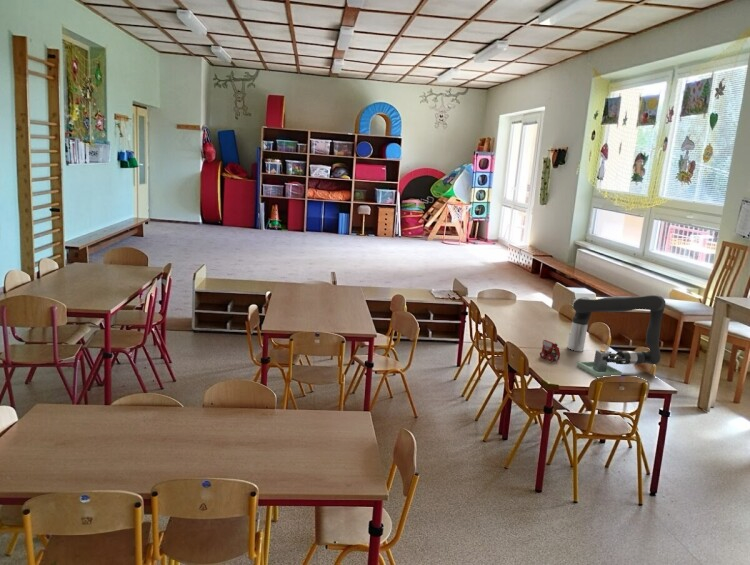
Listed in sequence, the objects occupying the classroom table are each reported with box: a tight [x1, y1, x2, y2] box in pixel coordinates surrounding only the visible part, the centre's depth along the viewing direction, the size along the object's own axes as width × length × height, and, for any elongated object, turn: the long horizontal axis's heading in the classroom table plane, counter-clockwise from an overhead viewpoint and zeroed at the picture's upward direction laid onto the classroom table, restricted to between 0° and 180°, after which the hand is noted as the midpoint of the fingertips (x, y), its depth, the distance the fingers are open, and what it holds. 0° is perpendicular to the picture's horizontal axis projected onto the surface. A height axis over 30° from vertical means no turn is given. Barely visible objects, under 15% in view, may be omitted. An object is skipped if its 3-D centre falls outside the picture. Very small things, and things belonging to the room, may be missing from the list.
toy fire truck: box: [539, 339, 561, 362], centre depth 353 cm, size 7×12×10 cm, turn 35°
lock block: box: [593, 349, 610, 372], centre depth 338 cm, size 5×5×12 cm
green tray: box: [576, 361, 623, 379], centre depth 339 cm, size 18×16×3 cm
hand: (602, 357), depth 337 cm, fingers open, 8 cm apart
